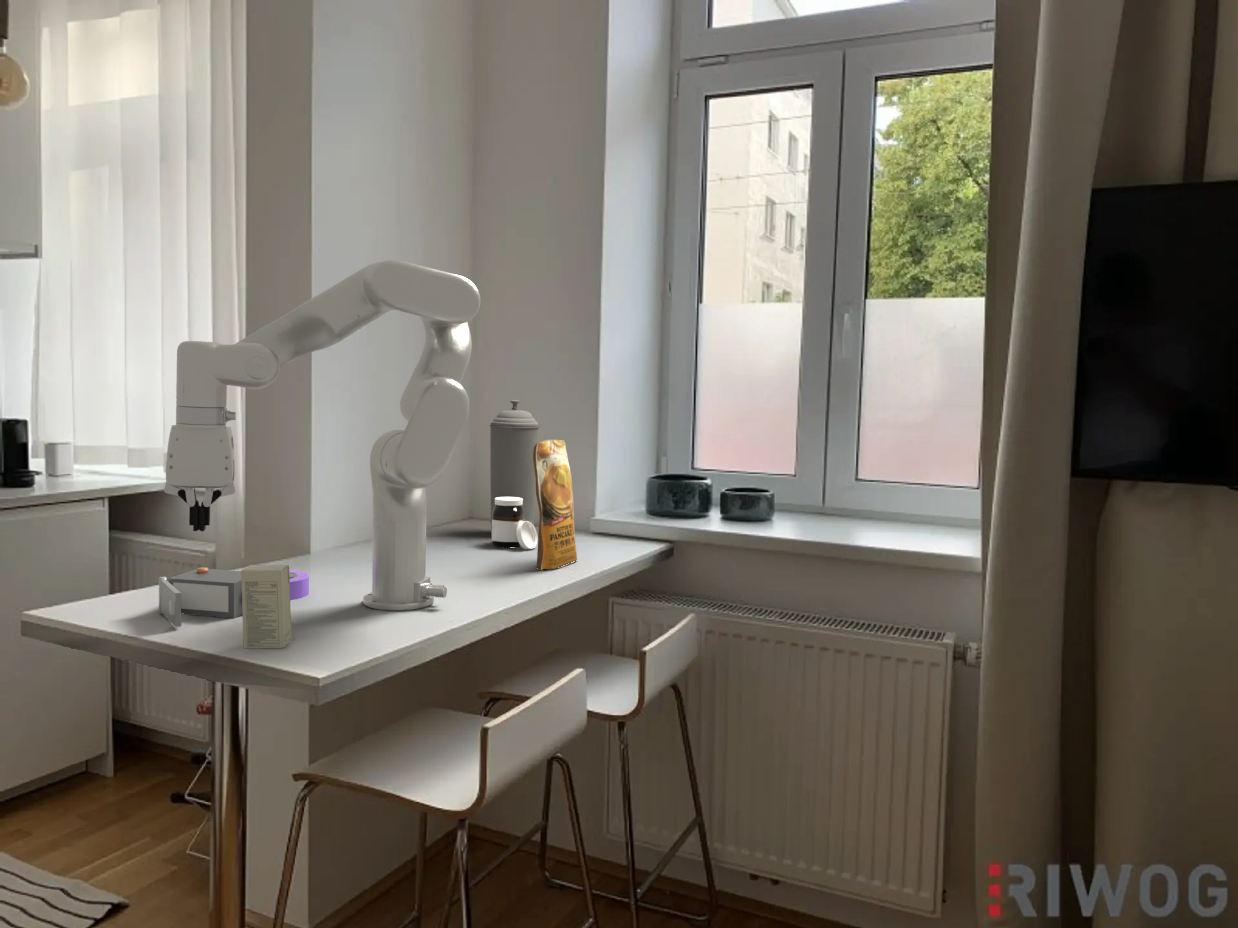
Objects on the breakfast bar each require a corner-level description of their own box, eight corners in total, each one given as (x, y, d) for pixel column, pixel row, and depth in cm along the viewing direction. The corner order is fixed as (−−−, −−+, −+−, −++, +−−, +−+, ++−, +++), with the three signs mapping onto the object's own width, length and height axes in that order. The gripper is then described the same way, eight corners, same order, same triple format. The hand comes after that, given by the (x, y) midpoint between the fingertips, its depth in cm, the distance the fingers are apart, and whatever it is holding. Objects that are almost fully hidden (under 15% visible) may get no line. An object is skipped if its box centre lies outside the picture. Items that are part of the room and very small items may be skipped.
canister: (528, 540, 251) (532, 401, 248) (480, 536, 254) (483, 399, 250) (542, 532, 263) (545, 400, 260) (496, 529, 266) (499, 398, 263)
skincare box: (292, 641, 155) (292, 564, 154) (283, 649, 151) (283, 570, 150) (250, 640, 155) (250, 563, 154) (240, 648, 151) (240, 569, 149)
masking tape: (317, 589, 191) (317, 570, 191) (296, 604, 180) (296, 583, 179) (257, 587, 192) (257, 567, 191) (232, 601, 180) (232, 580, 180)
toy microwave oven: (268, 606, 176) (268, 569, 176) (240, 618, 167) (240, 579, 167) (199, 600, 178) (199, 564, 178) (168, 613, 169) (167, 574, 169)
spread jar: (495, 541, 248) (496, 495, 247) (540, 543, 248) (541, 497, 247) (487, 550, 236) (488, 501, 235) (534, 552, 236) (535, 503, 235)
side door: (182, 628, 160) (182, 590, 159) (171, 629, 159) (171, 591, 158) (166, 612, 169) (165, 576, 169) (155, 613, 169) (155, 577, 168)
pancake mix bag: (519, 569, 215) (522, 440, 212) (560, 555, 232) (563, 436, 229) (547, 573, 212) (550, 442, 209) (586, 559, 229) (590, 438, 227)
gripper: (251, 418, 167) (249, 526, 168) (154, 415, 163) (153, 526, 164) (248, 421, 160) (246, 533, 161) (147, 417, 155) (145, 533, 157)
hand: (199, 529), depth 163 cm, fingers closed
